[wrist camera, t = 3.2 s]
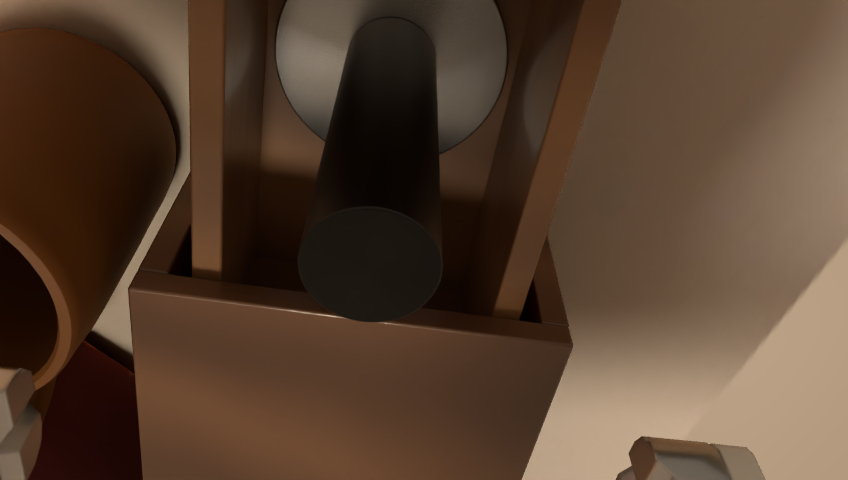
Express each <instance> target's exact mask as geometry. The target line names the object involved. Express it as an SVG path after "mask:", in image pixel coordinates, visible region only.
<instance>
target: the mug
mask: <svg viewBox="0 0 848 480" xmlns="http://www.w3.org/2000/svg"><path fill="white" fill-rule="evenodd" d="M175 161H176V145H175V137H174V133H173V129H172V125H171V122H170V120H169V117H168V115H167V112H166V110H165V108H164V107H163V105H162V103H161V101H160V99H159V98H158V96H157V95H156V94H155V92H154V91H153V89H152V88H151V86H150V85H149V84H148V83H147V82H146V81H145V80H144V78H143V77H142V76H141V75H140V74H139V73H138V72H137V71H136V70H135V69H134V68H132V67H131V66H130V65H129V64H128V63H127V62H125V61H124V60H123V59H121V58H120V57H119V56H117V55H116V54H114V53H113V52H111V51H109V50H108V49H106V48H104V47H102V46H101V45H99V44H96V43H94V42H92V41H90V40H88V39H86V38H83V37H80V36H77V35H74V34H71V33H67V32H63V31H58V30H54V29H44V28H22V29H16V30H10V31H5V32H1V33H0V366H7V367H15V368H22V369H26V370H29V371H31V373H32V377H33V381H34V385H35V391H34V393H33V394H32V396H31V398H30V400H29V401H28V402H29V403H30V404H31V405H32V406H33V407H34V408H35V409H36V410H37V411H39V412H40V416H41V422H42V424H43V422H44V419H45V417H46V414H47V411H48V408H49V406H50V402H51V399H52V395H53V392H54V387H55V382H56V377H57V375H58V374H59V373H60V372H61V371H62V369H63V368H64V367H65V366H66V364H67V363H68V362H69V360H70V359H71V357H72V356H73V354H74V352H75V351H76V349H77V348H78V347H79V345H80V344H81V343H82V341H83V340H84V339H85V337H86V336H87V335H88V333H89V332H90V331H91V329H92V328H93V326H94V324H95V323H96V321H97V319H98V318H99V316H100V315H101V313H102V311H103V310H104V308H105V306H106V304H107V303H108V301H109V299H110V297H111V295H112V294H113V292H114V290H115V288H116V286H117V285H118V283H119V281H120V279H121V277H122V276H123V274H124V272H125V270H126V268H127V267H128V265H129V263H130V261H131V259H132V258H133V256H134V254H135V252H136V250H137V249H138V247H139V245H140V243H141V241H142V239H143V237H144V235H145V233H146V231H147V229H148V227H149V225H150V224H151V222H152V220H153V218H154V216H155V214H156V213H157V211H158V209H159V207H160V205H161V204H162V202H163V200H164V198H165V196H166V193H167V191H168V189H169V186H170V183H171V181H172V178H173V173H174V168H175Z"/></svg>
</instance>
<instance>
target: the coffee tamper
mask: <svg viewBox="0 0 848 480" xmlns="http://www.w3.org/2000/svg"><path fill="white" fill-rule="evenodd" d="M274 50H275V62H276V69H277V73H278V77H279V80H280V84H281V86H282V89H283V91H284V93H285V96H286V98H287V100H288V101H289V103H290V105H291V106H292V108H293V110H294V111H295V113H296V114H297V115H298V116H299V118H300V119H301V120H302V122H303V123H304V124H305V125H306V126H307V127H308V128H309V129H310V130H311V131H312V132H313V133H314V134H316V135H317V136H318V137H319V138H321V139H322V140H323V141H325V145H324V149H323V153H322V157H321V161H320V165H319V169H318V174H317V178H316V182H315V186H314V190H313V194H312V198H311V202H310V206H309V210H308V214H307V219H306V223H305V227H304V231H303V235H302V239H301V243H300V247H299V252H298V271H299V275H300V278H301V280H302V282H303V284H304V286H305V288H306V290H307V291H308V293H309V294H310V295H311V296H312V297H313V299H314V300H315V301H316V302H318V303H319V304H320V305H321V306H322V307H324V308H325V309H327V310H328V311H330V312H332V313H334V314H336V315H338V316H341V317H343V318H347V319H350V320H354V321H360V322H370V323H372V322H386V321H392V320H396V319H399V318H402V317H405V316H407V315H409V314H411V313H413V312H415V311H416V310H418V309H419V308H421V307H422V306H423V305H424V304H425V303H426V302H427V301H428V300H429V299H430V298H431V297H432V295H433V294H434V293H435V291H436V289H437V287H438V285H439V283H440V280H441V277H442V270H443V261H442V229H441V197H440V165H439V154H442V153H444V152H446V151H448V150H450V149H452V148H454V147H455V146H457V145H459V144H460V143H461V142H463V141H464V140H466V139H467V138H468V137H469V136H470V135H472V134H473V133H474V132H475V131H476V130H477V129H478V128H479V127H480V126H481V125H482V123H483V122H484V121H485V120H486V119H487V117H488V116H489V114H490V113H491V111H492V110H493V108H494V107H495V105H496V103H497V100H498V98H499V96H500V94H501V92H502V88H503V85H504V82H505V79H506V73H507V68H508V52H509V49H508V39H507V33H506V28H505V24H504V20H503V16H502V14H501V11H500V8H499V6H498V3H497V1H496V0H285V2H284V4H283V6H282V9H281V11H280V14H279V18H278V22H277V26H276V32H275V40H274Z"/></svg>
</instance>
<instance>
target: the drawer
mask: <svg viewBox="0 0 848 480" xmlns="http://www.w3.org/2000/svg"><path fill="white" fill-rule="evenodd" d="M496 1H497V3H498V6H499V8H500V11H501V14H502V16H503V20H504V24H505V28H506V33H507V39H508V49H509V52H508V68H507V73H506V79H505V82H504V85H503V88H502V92H501V94H500V96H499V98H498V100H497V103H496V105H495V107H494V108H493V110H492V111H491V113H490V114H489V116H488V117H487V119H486V120H485V121H484V122H483V123H482V125H481V126H480V127H479V128H478V129H477V130H476V131H475V132H474V133H473V134H472V135H470V136H469V137H468V138H467V139H466V140H464V141H463V142H461V143H460V144H459V145H457V146H455V147H454V148H452V149H450V150H448V151H446V152H444V153H442V154H439V165H440V197H441V229H442V261H443V270H442V277H441V280H440V283H439V285H438V287H437V289H436V291H435V293H434V294H433V295H432V297H431V298H430V299H429V300H428V301H427V302H426V303H425V304H424V305H423V306H422V307H421V308H428V309H435V310H443V311H450V312H458V313H466V314H473V315H481V316H488V317H496V318H504V319H511V320H519V319H520V316H521V313H522V310H523V307H524V303H525V300H526V297H527V294H528V291H529V288H530V285H531V282H532V278H533V275H534V272H535V269H536V266H537V263H538V260H539V257H540V254H541V250H542V247H543V244H544V241H545V238H546V235H547V232H548V229H549V226H550V222H551V219H552V216H553V213H554V210H555V207H556V204H557V201H558V198H559V194H560V191H561V188H562V185H563V182H564V179H565V176H566V173H567V170H568V166H569V163H570V160H571V157H572V154H573V151H574V148H575V145H576V141H577V138H578V135H579V132H580V129H581V126H582V123H583V120H584V117H585V113H586V110H587V107H588V104H589V101H590V98H591V95H592V92H593V89H594V85H595V82H596V79H597V76H598V73H599V70H600V67H601V64H602V61H603V57H604V54H605V51H606V48H607V45H608V42H609V39H610V36H611V33H612V29H613V26H614V23H615V20H616V17H617V14H618V11H619V8H620V4H621V0H496ZM284 2H285V0H188V32H189V102H190V172H191V242H192V278H199V279H207V280H215V281H222V282H230V283H237V284H245V285H253V286H260V287H268V288H275V289H283V290H291V291H298V292H306V293H308V291H307V290H306V288H305V286H304V284H303V282H302V280H301V278H300V275H299V271H298V252H299V247H300V243H301V239H302V235H303V231H304V227H305V223H306V219H307V214H308V210H309V206H310V202H311V198H312V194H313V190H314V186H315V182H316V178H317V174H318V169H319V165H320V161H321V157H322V153H323V149H324V145H325V141H323V140H322V139H321V138H319V137H318V136H317V135H316V134H314V133H313V132H312V131H311V130H310V129H309V128H308V127H307V126H306V125H305V124H304V123H303V122H302V120H301V119H300V118H299V116H298V115H297V114H296V113H295V111H294V110H293V108H292V106H291V105H290V103H289V101H288V100H287V98H286V96H285V93H284V91H283V89H282V86H281V84H280V80H279V77H278V73H277V69H276V62H275V50H274V40H275V32H276V26H277V22H278V18H279V14H280V11H281V9H282V6H283V4H284Z"/></svg>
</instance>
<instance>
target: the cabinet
mask: <svg viewBox="0 0 848 480" xmlns="http://www.w3.org/2000/svg"><path fill="white" fill-rule="evenodd" d="M128 295H129V307H130V320H131V333H132V346H133V359H134V371H135V384H136V397H137V410H138V423H139V435H140V448H141V461H142V474H143V480H522V477H523V475H524V472H525V469H526V467H527V464H528V462H529V459H530V457H531V454H532V451H533V449H534V446H535V444H536V441H537V438H538V436H539V433H540V431H541V428H542V426H543V423H544V420H545V418H546V415H547V413H548V410H549V407H550V405H551V402H552V400H553V397H554V395H555V392H556V389H557V387H558V384H559V382H560V379H561V376H562V374H563V371H564V369H565V366H566V364H567V361H568V358H569V356H570V353H571V351H572V348H573V343H572V338H571V334H570V330H569V328H568V327H569V324H568V320H567V316H566V311H565V307H564V303H563V299H562V295H561V291H560V286H559V282H558V278H557V274H556V270H555V266H554V262H553V257H552V253H551V249H550V245H549V241H548V237H547V235H546V238H545V241H544V244H543V247H542V250H541V254H540V257H539V260H538V263H537V266H536V269H535V272H534V275H533V278H532V282H531V285H530V288H529V291H528V294H527V297H526V300H525V303H524V307H523V310H522V313H521V316H520V319H519V320H511V319H504V318H496V317H488V316H481V315H473V314H466V313H458V312H450V311H443V310H435V309H428V308H419V309H418V310H416V311H415V312H413V313H411V314H409V315H407V316H405V317H402V318H399V319H396V320H392V321H386V322H372V323H370V322H360V321H354V320H350V319H347V318H343V317H341V316H338V315H336V314H334V313H332V312H330V311H328V310H327V309H325V308H324V307H322V306H321V305H320V304H319V303H318V302H316V301H315V300H314V299H313V297H312V296H311V295H310V294H309V293H306V292H298V291H291V290H283V289H275V288H268V287H260V286H253V285H245V284H237V283H230V282H222V281H215V280H207V279H199V278H192V242H191V172H190V173H189V175H188V177H187V179H186V181H185V183H184V185H183V186H182V188H181V190H180V192H179V194H178V196H177V198H176V200H175V201H174V203H173V205H172V207H171V209H170V211H169V213H168V215H167V216H166V218H165V220H164V222H163V224H162V226H161V228H160V230H159V231H158V233H157V235H156V237H155V239H154V241H153V243H152V245H151V246H150V248H149V250H148V252H147V254H146V256H145V258H144V260H143V261H142V263H141V265H140V267H139V269H138V271H137V273H136V275H135V277H134V278H133V280H132V282H131V284H130V286H129V288H128Z"/></svg>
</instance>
